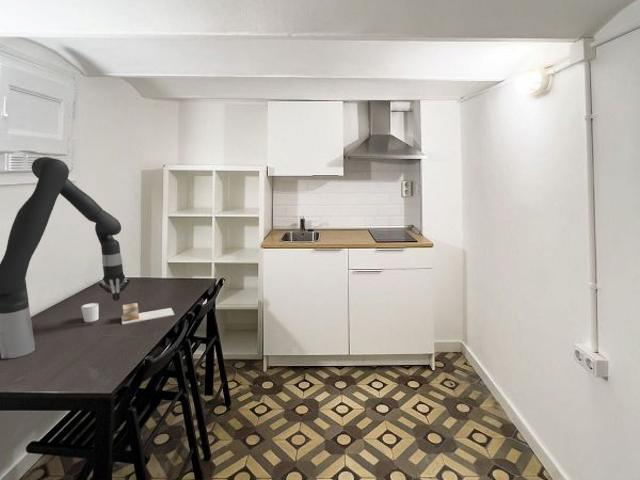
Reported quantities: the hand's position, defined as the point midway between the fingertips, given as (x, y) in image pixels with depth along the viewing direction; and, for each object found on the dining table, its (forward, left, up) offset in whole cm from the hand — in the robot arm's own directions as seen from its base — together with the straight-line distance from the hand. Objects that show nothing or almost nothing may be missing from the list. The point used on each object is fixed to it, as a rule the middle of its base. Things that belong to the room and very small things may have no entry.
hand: (116, 300), depth 159 cm
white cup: (-11, +9, -10) cm, 18 cm away
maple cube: (+5, 0, -10) cm, 11 cm away
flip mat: (+12, 0, -10) cm, 16 cm away
